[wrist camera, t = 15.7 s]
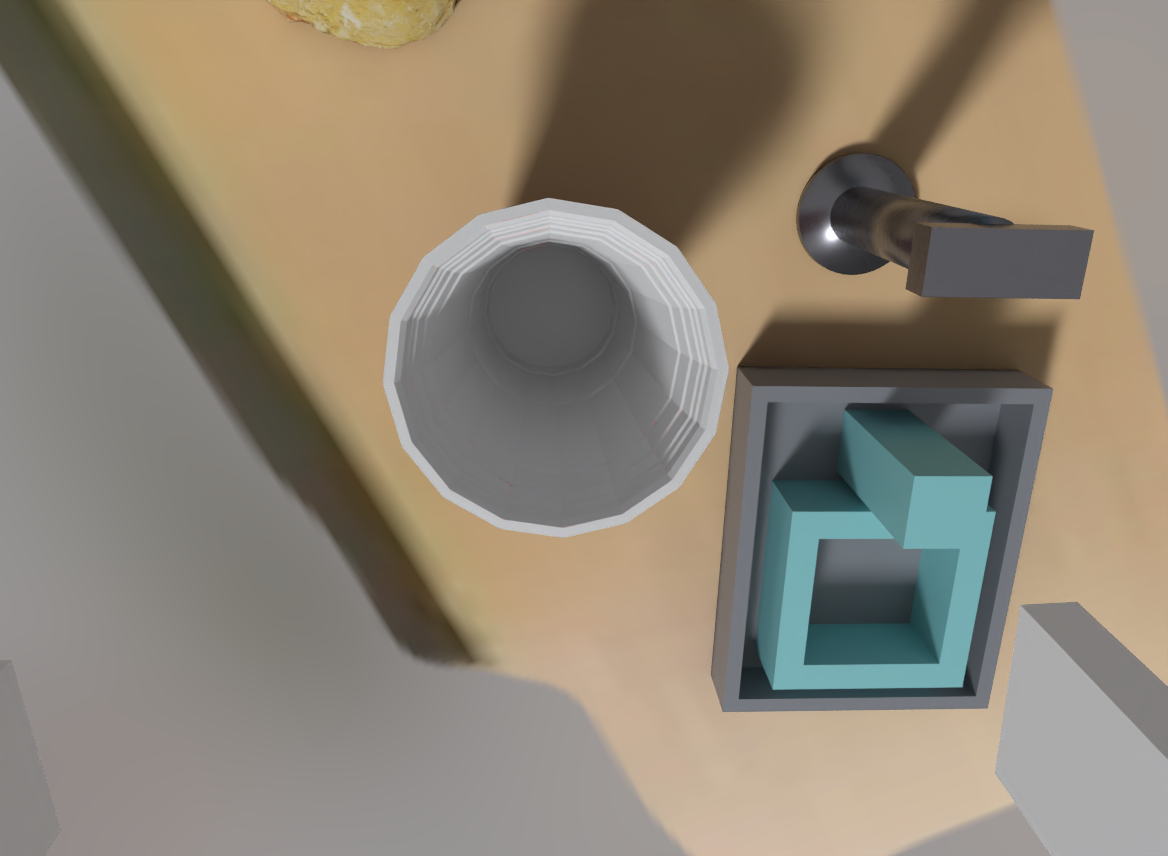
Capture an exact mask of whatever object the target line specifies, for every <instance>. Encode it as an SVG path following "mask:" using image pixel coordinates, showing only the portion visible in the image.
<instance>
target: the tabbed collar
mask: <svg viewBox="0 0 1168 856" xmlns="http://www.w3.org/2000/svg"><path fill="white" fill-rule="evenodd" d="M837 472H838V473H839V474H840V475H841V476H842V478H843V479H844V480H772V486H771V496H770V505H769V515H768V525H767V535H766V545H765V555H764V564H763V574H762V584H761V594H760V604H759V613H758V623H757V633H756V643H755V648H756V651H757V653H758V656H759V658H760V660H761V663H762V665H763V667H764V670H765V672H766V675H767V677H768V679H769V682H770V684H771V687H772V689H773V690H784V689H865V688H945V687H962V686H963V680H964V675H965V670H966V665H967V660H968V654H969V649H970V644H971V639H972V634H973V628H974V623H975V618H976V613H977V607H978V602H979V597H980V592H981V587H982V581H983V576H984V571H985V566H986V561H987V555H988V550H989V545H990V540H991V535H992V529H993V524H994V519H995V514H996V511H995V510H993V509H992V508H991V507H990V506H989V505H988V499H989V494H990V488H991V483H992V478H993V476H992V475H990V474H989V473H988V472H987V471H985V470H984V469H983V468H981V467H980V466H979V465H978V464H976V463H975V462H974V461H973V460H971V459H970V458H969V457H968V456H966V455H965V454H964V453H963V452H961V451H960V450H959V449H957V448H956V447H955V446H954V445H952V444H951V443H950V442H949V441H947V440H946V439H945V438H944V437H942V436H941V435H940V434H939V433H937V432H936V431H935V430H933V429H932V428H931V427H930V426H928V425H927V424H926V423H925V422H923V421H922V420H921V419H920V418H918V417H917V416H916V415H915V414H913V413H912V412H911V411H910V410H869V409H844V415H843V423H842V431H841V439H840V447H839V455H838V463H837ZM819 539H895V540H896V541H897V542H898V543H899V545H900V546H901V547H902V548H903V549H922V551H921V557H920V563H919V569H918V575H917V582H916V588H915V594H914V600H913V606H912V612H911V618H910V623H898V624H809V616H810V608H811V600H812V591H813V583H814V575H815V567H816V559H817V551H818V543H819Z"/></svg>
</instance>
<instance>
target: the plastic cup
mask: <svg viewBox="0 0 1168 856" xmlns="http://www.w3.org/2000/svg"><path fill="white" fill-rule="evenodd" d="M728 371H729V367H728V362H727V357H726V352H725V347H724V342H723V337H722V332H721V327H720V322H719V317H718V312H717V307H716V303H715V302H714V300H713V299H712V297H711V296H710V294H709V293H708V291H707V290H706V288H705V287H704V285H703V284H702V282H701V281H700V280H699V278H698V277H697V275H696V274H695V272H694V271H693V269H692V268H691V266H690V265H689V263H688V262H687V260H686V259H685V258H684V256H683V255H682V253H681V252H680V250H679V249H678V247H677V246H675V245H673V244H672V243H670V242H669V241H667V240H666V239H664V238H662V237H661V236H659V235H658V234H656V233H655V232H653V231H651V230H650V229H648V228H647V227H645V226H644V225H642V224H640V223H639V222H637V221H636V220H634V219H633V218H631V217H629V216H628V215H626V214H625V213H623V212H622V211H620V210H618V209H613V208H607V207H601V206H595V205H589V204H583V203H577V202H571V201H565V200H559V199H553V198H545V199H541V200H537V201H533V202H529V203H525V204H521V205H517V206H512V207H508V208H504V209H500V210H496V211H492V212H488V213H484V214H480V215H478V216H477V217H476V218H474V219H473V220H472V221H470V222H469V223H468V224H466V225H465V226H464V227H462V228H461V229H460V230H458V231H457V232H456V233H454V234H453V235H452V236H450V237H449V238H448V239H446V240H445V241H444V242H443V243H441V244H440V245H439V246H437V247H436V248H435V249H433V250H432V251H431V252H429V253H428V254H427V255H425V256H424V257H423V259H422V260H421V262H420V264H419V266H418V268H417V269H416V271H415V273H414V275H413V276H412V278H411V280H410V282H409V284H408V285H407V287H406V289H405V291H404V292H403V294H402V296H401V298H400V299H399V301H398V303H397V305H396V307H395V308H394V310H393V312H392V314H391V315H390V320H389V329H388V339H387V348H386V357H385V367H384V376H383V386H384V389H385V392H386V396H387V399H388V402H389V406H390V409H391V412H392V415H393V419H394V422H395V425H396V429H397V432H398V435H399V439H400V442H401V445H402V447H403V448H404V450H405V451H406V452H407V453H408V455H409V456H410V457H411V458H412V459H413V461H414V462H415V463H416V464H417V466H418V467H419V468H420V469H421V471H422V472H423V473H424V474H425V475H426V477H427V478H428V479H429V480H430V482H431V483H432V484H433V485H434V486H435V488H436V489H437V490H438V491H439V493H440V494H441V495H442V496H443V497H444V498H446V499H447V500H449V501H451V502H453V503H455V504H456V505H458V506H460V507H462V508H464V509H465V510H467V511H469V512H471V513H472V514H474V515H476V516H478V517H480V518H481V519H483V520H485V521H487V522H489V523H490V524H492V525H494V526H496V527H498V528H499V529H505V530H512V531H519V532H526V533H534V534H541V535H548V536H555V537H562V538H565V537H569V536H573V535H578V534H582V533H586V532H591V531H595V530H599V529H604V528H608V527H612V526H617V525H621V524H625V523H627V522H629V521H630V520H632V519H633V518H635V517H636V516H638V515H639V514H641V513H642V512H644V511H645V510H647V509H648V508H649V507H651V506H652V505H654V504H655V503H657V502H658V501H660V500H661V499H663V498H664V497H666V496H667V495H669V494H670V493H672V492H673V491H674V490H676V489H677V488H679V487H680V486H681V484H682V483H683V481H684V480H685V478H686V477H687V475H688V474H689V472H690V471H691V469H692V468H693V466H694V465H695V463H696V462H697V460H698V459H699V457H700V456H701V454H702V453H703V451H704V450H705V449H706V447H707V446H708V444H709V443H710V441H711V440H712V438H713V437H714V435H715V434H716V430H717V425H718V420H719V415H720V410H721V405H722V400H723V396H724V391H725V386H726V381H727V376H728Z"/></svg>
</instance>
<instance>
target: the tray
mask: <svg viewBox="0 0 1168 856" xmlns="http://www.w3.org/2000/svg"><path fill="white" fill-rule="evenodd" d="M1052 392H1053V389H1052V388H1051V387H1049V386H1047V385H1045V384H1043V383H1041V382H1039V381H1037V380H1036V379H1034V378H1032V377H1030V376H1028V375H1026V374H1024V373H1022V372H1021V371H1019V370H986V369H890V368H794V367H737V375H736V387H735V399H734V410H733V422H732V434H731V446H730V457H729V469H728V481H727V493H726V505H725V516H724V528H723V540H722V552H721V564H720V575H719V587H718V599H717V611H716V623H715V634H714V646H713V658H712V670H711V676H712V680H713V683H714V686H715V689H716V692H717V695H718V698H719V701H720V704H721V708H722V711H723V712H759V711H833V710H906V709H980V708H988V704H989V699H990V694H991V689H992V684H993V679H994V674H995V670H996V665H997V660H998V655H999V650H1000V645H1001V640H1002V635H1003V631H1004V626H1005V621H1006V616H1007V611H1008V606H1009V601H1010V596H1011V592H1012V587H1013V582H1014V577H1015V572H1016V567H1017V562H1018V557H1019V553H1020V548H1021V543H1022V538H1023V533H1024V528H1025V523H1026V518H1027V514H1028V509H1029V504H1030V499H1031V494H1032V489H1033V484H1034V479H1035V474H1036V470H1037V465H1038V460H1039V455H1040V450H1041V445H1042V440H1043V435H1044V431H1045V426H1046V421H1047V416H1048V411H1049V406H1050V401H1051V396H1052ZM844 409H869V410H910V411H911V412H912V413H913V414H915V415H916V416H917V417H918V418H920V419H921V420H922V421H923V422H925V423H926V424H927V425H928V426H930V427H931V428H932V429H933V430H935V431H936V432H937V433H939V434H940V435H941V436H942V437H944V438H945V439H946V440H947V441H949V442H950V443H951V444H952V445H954V446H955V447H956V448H957V449H959V450H960V451H961V452H963V453H964V454H965V455H966V456H968V457H969V458H970V459H971V460H973V461H974V462H975V463H976V464H978V465H979V466H980V467H981V468H983V469H984V470H985V471H987V472H988V473H989V474H990V475H992V476H993V478H992V483H991V488H990V494H989V499H988V505H989V506H990V507H991V508H992V509H993V510H995V511H996V514H995V519H994V524H993V529H992V535H991V540H990V545H989V550H988V555H987V561H986V566H985V571H984V576H983V581H982V587H981V592H980V597H979V602H978V607H977V613H976V618H975V623H974V628H973V634H972V639H971V644H970V649H969V654H968V660H967V665H966V670H965V675H964V680H963V686H962V687H945V688H865V689H784V690H773V689H772V687H771V684H770V682H769V679H768V677H767V675H766V672H765V670H764V667H763V665H762V663H761V660H760V658H759V656H758V653H757V651H756V648H755V643H756V633H757V623H758V613H759V604H760V594H761V584H762V574H763V564H764V555H765V545H766V535H767V525H768V515H769V505H770V496H771V486H772V480H844V479H843V478H842V476H841V475H840V474H839V473H838V472H837V463H838V455H839V447H840V439H841V431H842V423H843V415H844ZM921 551H922V549H903V548H902V547H901V546H900V545H899V543H898V542H897V541H896V540H895V539H819V543H818V551H817V559H816V567H815V575H814V583H813V591H812V600H811V608H810V616H809V624H898V623H910V618H911V612H912V606H913V600H914V594H915V588H916V582H917V575H918V569H919V563H920V557H921Z"/></svg>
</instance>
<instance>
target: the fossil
mask: <svg viewBox="0 0 1168 856" xmlns="http://www.w3.org/2000/svg"><path fill="white" fill-rule="evenodd" d="M267 1H268V3H269V4H271V5H272V6H273V7H274V8H275V9H277V10H278V11H279V12H280V13H281V14H282V16H283V17H284V18H285V20H287V21H289V22H300V21H302V22H304V23H308V24H311V25H312V26H313V27H314V28H316V29H318V30H320V31H322V32H323V33H326V34H330V35H332V36H334V37H336V38H339V39H341V40H345V41H352V42H355V43H358V44H360V45H362V46H373V47H377V48H383V49H395V48H399V47H401V46H403V45H405V44H407V43H410V42H412V41H417V40H422V39H424V38H426V37H428V36H429V35H431V34H432V33H434V32H436V31H438V30H439V29H440V28H441V27H442V26H443V24H444V23H445V22H446V21H447V20H448V18H449V17H450V16H451V15H452V14H453V12H454V8H455V3H456V1H457V0H267Z"/></svg>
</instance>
